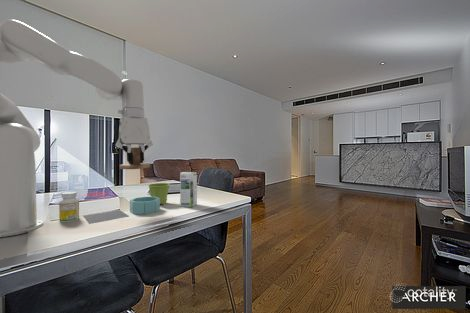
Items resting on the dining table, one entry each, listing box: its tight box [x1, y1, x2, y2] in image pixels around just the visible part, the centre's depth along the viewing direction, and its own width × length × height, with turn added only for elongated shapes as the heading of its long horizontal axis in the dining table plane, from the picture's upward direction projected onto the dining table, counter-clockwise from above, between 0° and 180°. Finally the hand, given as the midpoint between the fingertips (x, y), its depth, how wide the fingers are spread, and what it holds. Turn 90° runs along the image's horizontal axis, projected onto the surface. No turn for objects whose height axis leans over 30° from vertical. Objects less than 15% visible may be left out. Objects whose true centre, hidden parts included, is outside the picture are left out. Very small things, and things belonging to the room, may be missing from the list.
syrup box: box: [179, 171, 198, 208], centre depth 96 cm, size 6×6×14 cm
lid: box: [119, 146, 151, 170], centre depth 84 cm, size 10×10×8 cm
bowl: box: [129, 196, 161, 215], centre depth 86 cm, size 10×10×5 cm
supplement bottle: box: [58, 191, 80, 223], centre depth 75 cm, size 5×5×10 cm
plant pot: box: [147, 182, 171, 205], centre depth 100 cm, size 9×9×9 cm
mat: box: [82, 209, 130, 225], centre depth 79 cm, size 12×12×1 cm
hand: (135, 162), depth 84 cm, fingers closed on lid, 3 cm apart
